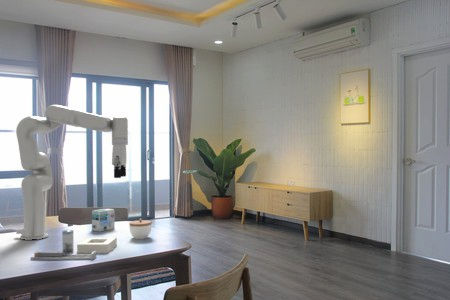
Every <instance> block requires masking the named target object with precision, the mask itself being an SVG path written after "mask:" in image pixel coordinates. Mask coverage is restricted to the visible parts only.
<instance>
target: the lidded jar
mask: <svg viewBox="0 0 450 300" xmlns="http://www.w3.org/2000/svg"><path fill="white" fill-rule="evenodd" d="M151 231H152V221H151V220H146V219H145V220H144V219H142V218H139V220H132V221H129V232H130V234H131V236H132V237H133V238H134V239H135V240H144V238H145V239H147V238H148V237H149V235H150V234H151Z"/></svg>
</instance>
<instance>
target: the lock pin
mask: <svg viewBox="0 0 450 300" xmlns="http://www.w3.org/2000/svg"><path fill="white" fill-rule="evenodd" d="M33 254H34V255H33V257H64V255H65V253H64V252H62V251H35V252H34V253H33Z"/></svg>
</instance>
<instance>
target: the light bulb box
mask: <svg viewBox="0 0 450 300" xmlns="http://www.w3.org/2000/svg"><path fill="white" fill-rule="evenodd" d="M115 211H116V210H115V209H114V208H101V209H94V210H91V231H95V232H103V231H109V230H113V229H115V226H116V225H115V221H116V220H115V219H116V217H115Z"/></svg>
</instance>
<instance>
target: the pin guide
mask: <svg viewBox="0 0 450 300" xmlns="http://www.w3.org/2000/svg"><path fill="white" fill-rule="evenodd" d="M96 258H97V253H96V251H94V252H92V253H90V254H64V257H34V256H31V257H30V260H31V259H38V260H37V261H41V260H42V259H43V261H45V260H46V261H48V260H49V261H51V260H53V261H54V260H55V261H56V260H57V261H58V260H59V261H60V260H61V261H62V260H63V261H65V260H67V261H68V260H71V261H72V260H74V261H76V260H78V261H80V260H82V261H83V260H89V261H90V260H91V261H92V260H94V259H96ZM39 259H40V260H39Z"/></svg>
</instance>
